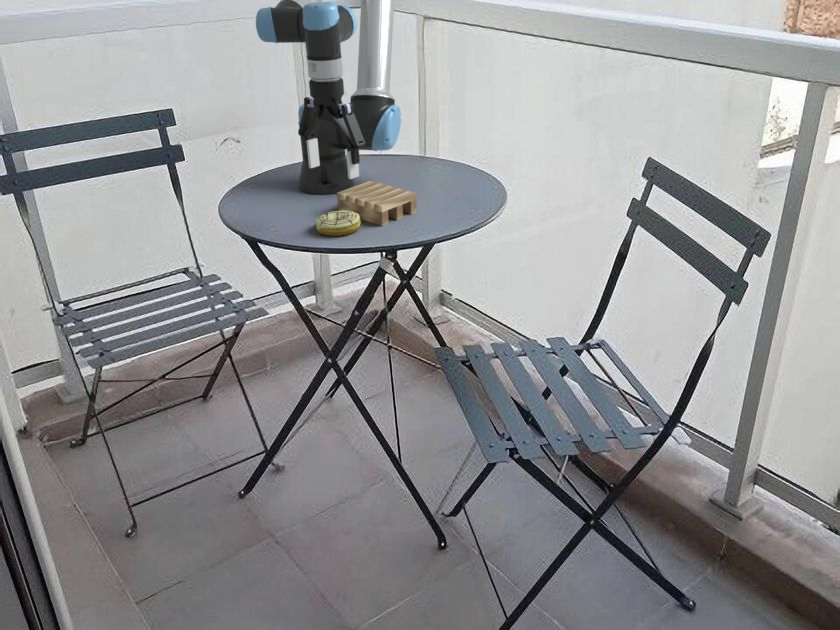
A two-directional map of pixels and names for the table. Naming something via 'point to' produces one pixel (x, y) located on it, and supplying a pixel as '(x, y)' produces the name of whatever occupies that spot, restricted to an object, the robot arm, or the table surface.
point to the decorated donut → (338, 223)
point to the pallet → (377, 202)
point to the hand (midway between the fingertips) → (333, 172)
